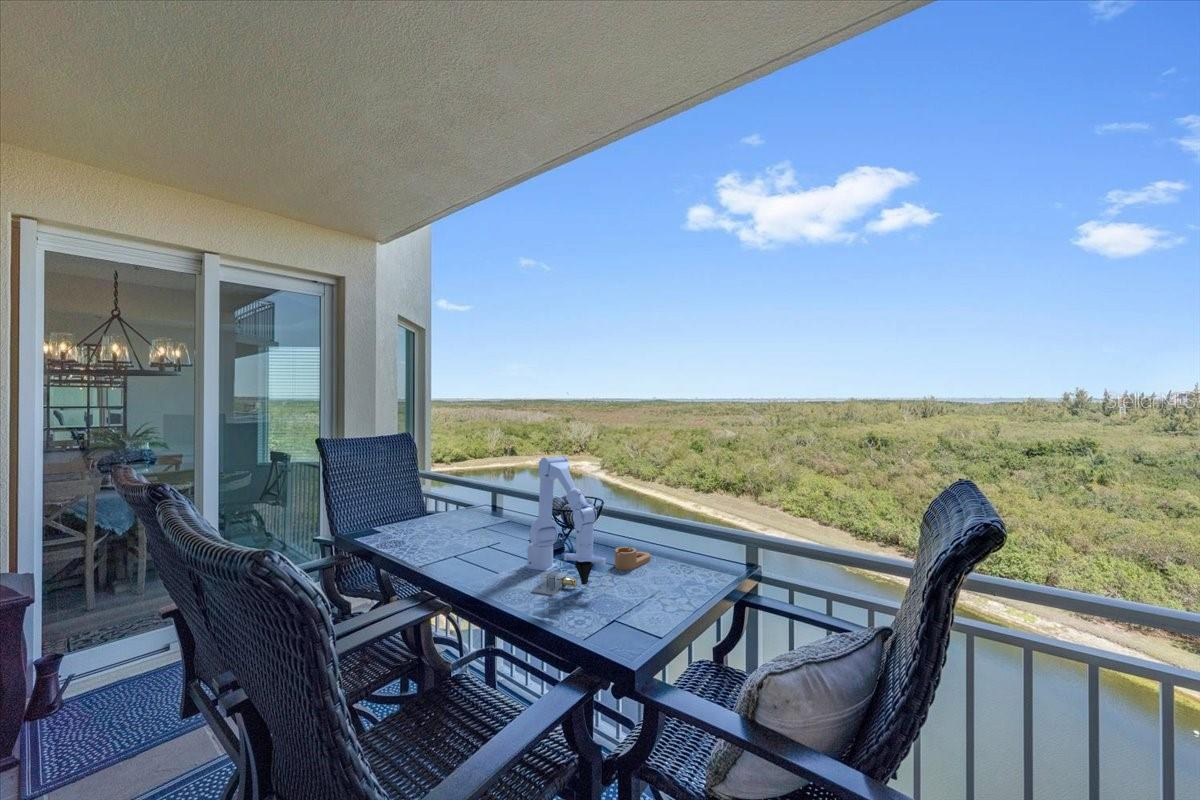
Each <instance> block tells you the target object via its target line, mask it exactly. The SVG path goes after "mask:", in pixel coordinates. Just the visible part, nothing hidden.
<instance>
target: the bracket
mask: <svg viewBox="0 0 1200 800" xmlns="http://www.w3.org/2000/svg"><path fill="white" fill-rule="evenodd" d="M651 557H652V555H651V554H650V553H649V552H646V551H638V550H637V549H636V548H635V547H631V548H630V547H629V546H620V547H616V548H615V549H614V567H615V568H616V569H618V570H619V571H632V570H635V569H636V568H640V567H641V566H643V565H645V564H647V563H649V562H651Z"/></svg>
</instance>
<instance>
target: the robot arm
mask: <svg viewBox="0 0 1200 800" xmlns="http://www.w3.org/2000/svg"><path fill="white" fill-rule="evenodd" d="M537 471H538V472H537V475H538V477H539V495H538V496H539V499H538V517H537V518H536V519H535V520H534V521H533V522H532V523H531V527H530V530H529V534H528V535H529V540H530V544H528V547H527V551H526V555H527V556H526V557H527V558H526V559H527V560H526V567H525V568H526V569H529V570H530V569H531V570H536V571H537V570H538V571H544V572H545V571H546V570H549V571H551V570H552V569H553V568H554V567H556V566H557V565H558V563H556V562H554V544H555V543H556V541H557V539H558V537H559V532H558V531H559V530H558V523H557V522H556V521H555V520H554V519H553V505H554V504H553V502H554V501H553V500H554V499H553V498H554V482H555V479H558V481H559V482H560V484H561V485H562V487H563V488H564V490H565V492H566V496H565V497H566V500H567V502H568V505H569V507H570V509H571V510H572V511H571V512H572V514H573V515H572V521H573V524H574V530H575V531H576V532H575V533H576V535H575V536H576V537H575V538H576V539H575V540H576V541H575V542H576V543H575V545H576V546H575V547H576V548H575V550H576V551H575V552H576V553H575V552H572V553H570V552H569V553H568V552H566V553H564V554H563V561H573V562H575V564H574V567H575V569H576V571H577V572H578V575H579V578H580V579H579V580H580V583H581V585H585V586H587V584H588V583H589V577H590V573H591V571H592V569H593V567H594V565H595V564H596V565H601V566H605V565H606V564H607V563H606V562H607V561H606V559H607V558H606V557H602V556H598V555H595V554H594V524H595V523H596V521H597V518H598V516H597V515H598V513H597V510H596V508H595V507H594V506H592V505H591V504H590V503H588V501H587V500H586V498H585V496H584V494H583V492H582V490H581V489H578V488H577V487H576V485H575V482H574V480H573V477H572V476H571V473H570V462H569V460H568V457H566V456H564V455H562V456H553V457H550V456H549V457H542V458H540V460H538V470H537Z"/></svg>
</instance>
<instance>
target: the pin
mask: <svg viewBox="0 0 1200 800" xmlns="http://www.w3.org/2000/svg"><path fill="white" fill-rule="evenodd" d="M562 584H564V585H563V586H571V587H574V588H576V587H577V584H578V579H577V578H574V579H566V578H562Z"/></svg>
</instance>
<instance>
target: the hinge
mask: <svg viewBox="0 0 1200 800" xmlns="http://www.w3.org/2000/svg"><path fill="white" fill-rule="evenodd" d="M567 574H568V573H567V572H562V571H561V572H559V571H555V570H546V571H544V572H542V573H541V574H540V584H538V585H537V586H536V587H534V588H533V589H532V590H531V592H532V593H534V594H541V595H546V596H552V597H553V596H554V595H556V594H557V593H559V591H561V590H562V589H563V586H565V585H564V584H562V578H566V579H573V580H574V579H575V576H571V575H567Z"/></svg>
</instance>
